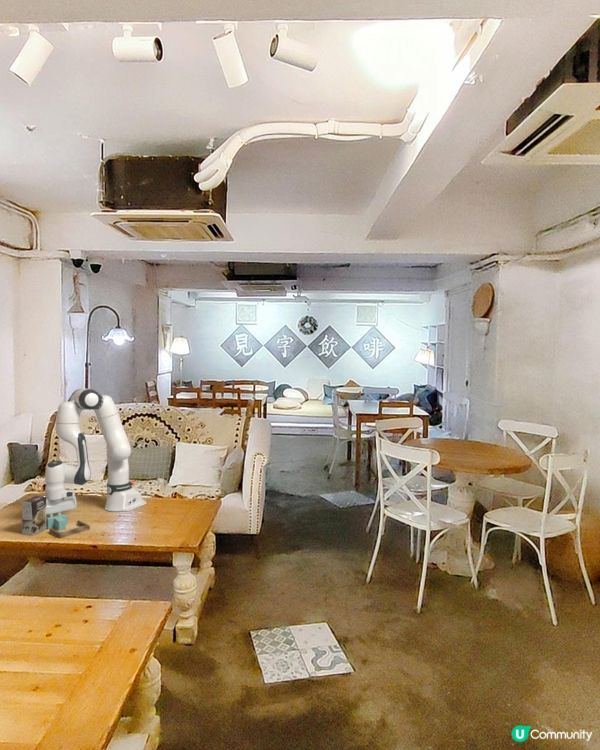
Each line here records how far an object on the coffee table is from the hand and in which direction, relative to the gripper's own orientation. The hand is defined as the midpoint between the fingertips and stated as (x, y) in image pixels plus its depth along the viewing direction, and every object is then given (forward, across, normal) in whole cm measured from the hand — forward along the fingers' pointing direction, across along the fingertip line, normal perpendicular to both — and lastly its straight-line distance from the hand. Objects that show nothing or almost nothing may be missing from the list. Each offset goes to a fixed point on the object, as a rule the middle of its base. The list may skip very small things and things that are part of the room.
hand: (55, 521), depth 252 cm
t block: (+2, 0, -5) cm, 6 cm away
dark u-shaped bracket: (+2, +2, -13) cm, 13 cm away
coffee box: (+2, -10, -4) cm, 11 cm away
